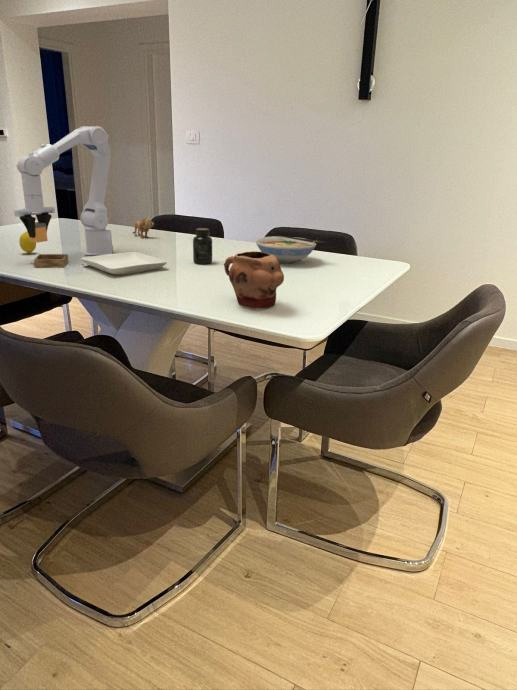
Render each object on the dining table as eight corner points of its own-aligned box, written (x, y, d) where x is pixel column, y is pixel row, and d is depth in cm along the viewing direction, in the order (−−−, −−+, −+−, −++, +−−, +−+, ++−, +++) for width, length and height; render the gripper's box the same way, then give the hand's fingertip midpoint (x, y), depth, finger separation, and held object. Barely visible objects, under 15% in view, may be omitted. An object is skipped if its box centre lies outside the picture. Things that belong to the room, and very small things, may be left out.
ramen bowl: (239, 259, 192) (240, 237, 189) (279, 252, 208) (280, 232, 205) (291, 271, 176) (292, 247, 174) (330, 263, 192) (332, 241, 189)
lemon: (26, 255, 184) (23, 233, 181) (17, 253, 187) (14, 231, 184) (40, 253, 188) (37, 231, 185) (32, 251, 191) (29, 229, 188)
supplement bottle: (215, 262, 186) (216, 228, 182) (206, 265, 180) (206, 231, 176) (199, 260, 188) (199, 226, 184) (189, 263, 183) (189, 229, 178)
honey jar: (39, 239, 177) (37, 221, 175) (47, 240, 176) (45, 223, 173) (29, 241, 174) (27, 223, 172) (37, 242, 172) (35, 224, 170)
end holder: (68, 261, 178) (67, 254, 178) (64, 267, 170) (63, 259, 169) (40, 261, 177) (39, 254, 176) (34, 267, 168) (33, 259, 167)
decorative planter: (208, 302, 139) (208, 250, 134) (235, 293, 148) (236, 244, 143) (269, 317, 129) (272, 262, 123) (294, 306, 138) (297, 255, 133)
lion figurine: (156, 238, 227) (155, 217, 223) (145, 239, 223) (145, 218, 220) (137, 234, 236) (136, 214, 233) (127, 235, 232) (126, 214, 229)
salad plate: (134, 259, 187) (134, 250, 185) (169, 270, 173) (168, 260, 172) (79, 267, 173) (79, 257, 171) (112, 279, 159) (111, 268, 157)
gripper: (43, 192, 177) (47, 232, 182) (5, 195, 165) (11, 237, 170) (57, 194, 174) (61, 234, 179) (20, 197, 162) (25, 240, 167)
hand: (38, 236), depth 174 cm, fingers closed on honey jar, 4 cm apart
